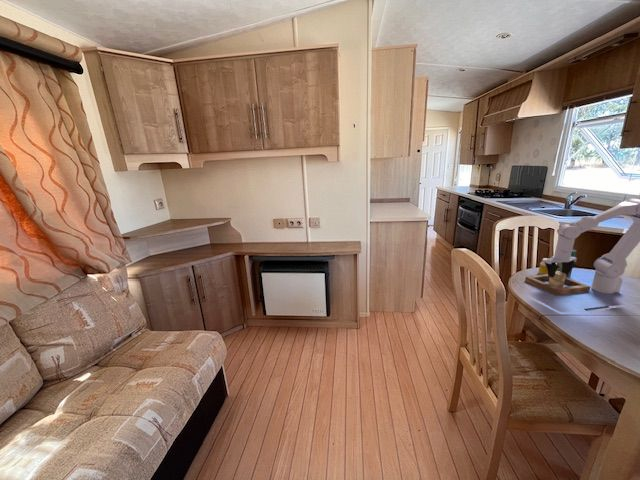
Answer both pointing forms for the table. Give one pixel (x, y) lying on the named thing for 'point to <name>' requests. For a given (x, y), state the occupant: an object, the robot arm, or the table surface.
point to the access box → (575, 288)
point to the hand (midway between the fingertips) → (557, 276)
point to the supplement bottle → (543, 267)
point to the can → (561, 262)
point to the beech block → (557, 279)
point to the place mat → (597, 308)
